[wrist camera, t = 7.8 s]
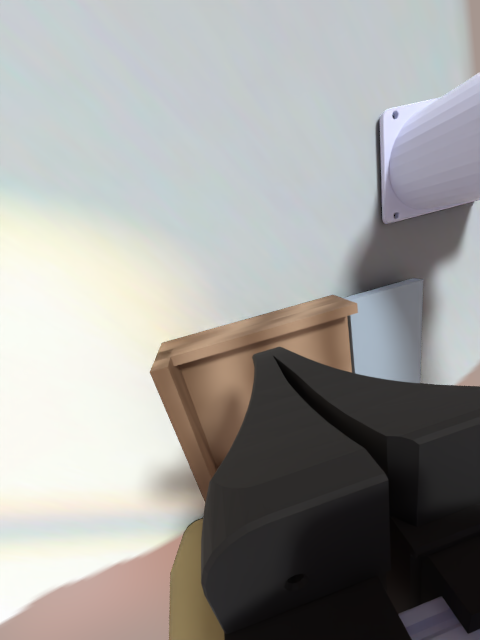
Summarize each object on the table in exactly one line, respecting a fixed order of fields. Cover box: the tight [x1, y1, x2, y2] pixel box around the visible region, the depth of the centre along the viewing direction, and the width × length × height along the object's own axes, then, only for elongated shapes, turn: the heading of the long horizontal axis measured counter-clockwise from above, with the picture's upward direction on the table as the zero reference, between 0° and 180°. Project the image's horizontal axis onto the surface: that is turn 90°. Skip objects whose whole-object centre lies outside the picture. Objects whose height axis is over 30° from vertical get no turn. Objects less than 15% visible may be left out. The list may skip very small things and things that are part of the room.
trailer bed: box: [150, 295, 358, 502], centre depth 20 cm, size 16×14×5 cm
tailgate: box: [343, 278, 423, 383], centre depth 22 cm, size 1×14×7 cm
